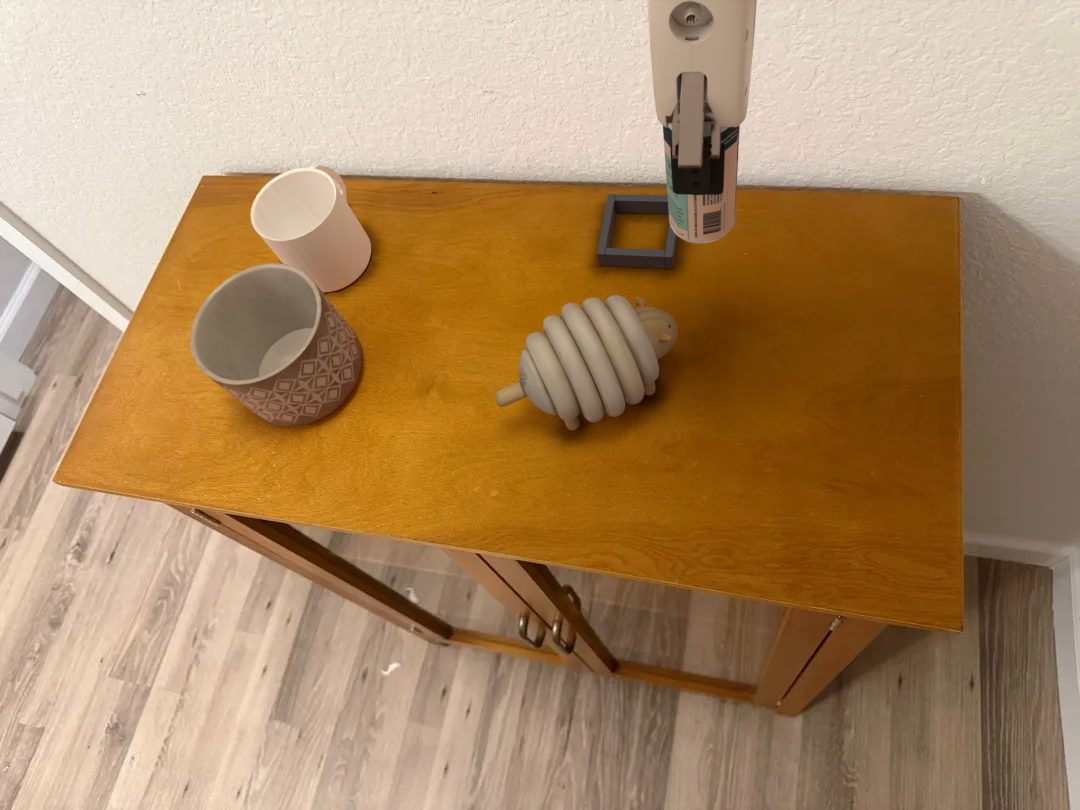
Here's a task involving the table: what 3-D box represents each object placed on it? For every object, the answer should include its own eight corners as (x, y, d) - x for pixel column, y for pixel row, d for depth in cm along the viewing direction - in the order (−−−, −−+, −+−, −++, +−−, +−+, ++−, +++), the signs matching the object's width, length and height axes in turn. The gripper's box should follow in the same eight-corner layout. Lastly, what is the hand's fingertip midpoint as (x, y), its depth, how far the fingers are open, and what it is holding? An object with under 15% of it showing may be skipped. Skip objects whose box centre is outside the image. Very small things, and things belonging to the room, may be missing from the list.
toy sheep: (706, 392, 69) (705, 329, 59) (540, 482, 69) (512, 434, 59) (647, 308, 74) (637, 237, 64) (492, 392, 73) (458, 333, 64)
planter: (285, 309, 83) (233, 251, 73) (386, 335, 79) (344, 277, 69) (228, 413, 78) (164, 365, 69) (332, 445, 74) (279, 399, 65)
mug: (349, 302, 81) (308, 249, 73) (280, 284, 84) (234, 230, 76) (398, 213, 85) (365, 153, 77) (331, 198, 88) (292, 139, 80)
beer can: (746, 207, 57) (756, 76, 46) (717, 256, 55) (720, 133, 45) (687, 187, 58) (683, 57, 48) (658, 235, 57) (646, 112, 46)
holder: (682, 208, 78) (681, 195, 76) (673, 269, 75) (672, 257, 74) (610, 206, 80) (608, 193, 78) (598, 265, 77) (596, 253, 75)
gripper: (776, 0, 31) (752, 266, 47) (794, -245, 37) (768, 62, 53) (590, 9, 32) (629, 262, 49) (640, -226, 39) (659, 66, 55)
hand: (702, 155), depth 51 cm, fingers closed on beer can, 4 cm apart
